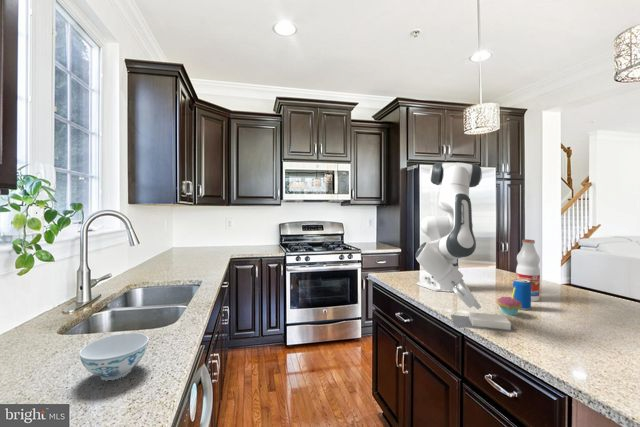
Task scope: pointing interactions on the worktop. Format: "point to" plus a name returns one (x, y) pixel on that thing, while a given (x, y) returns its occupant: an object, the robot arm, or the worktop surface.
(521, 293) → the beverage can
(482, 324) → the tile
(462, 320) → the mat
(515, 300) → the cupcake
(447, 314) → the worktop surface
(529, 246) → the fruit juice
